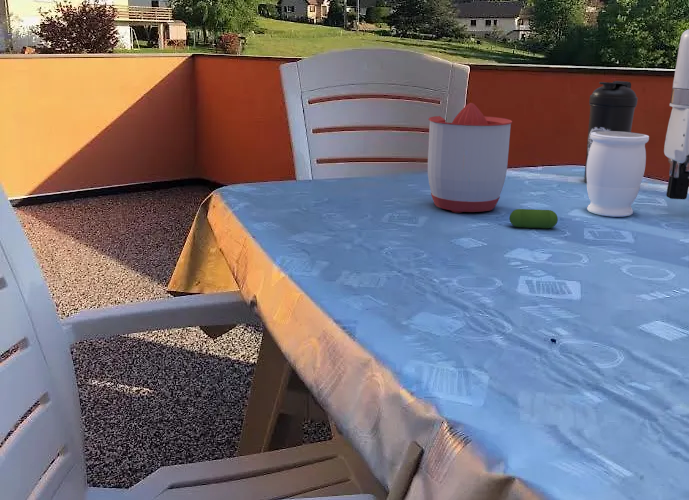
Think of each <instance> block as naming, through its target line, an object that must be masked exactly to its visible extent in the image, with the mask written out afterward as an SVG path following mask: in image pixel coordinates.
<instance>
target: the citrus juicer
mask: <svg viewBox="0 0 689 500" xmlns="http://www.w3.org/2000/svg"><path fill="white" fill-rule="evenodd" d="M428 121H429V128H428V129H429V131H428V132H429V133H428V134H429V135H428V149H427V150H428V151H427V178H428V185H429V190H430V196H431V198H432V201H433V204H434V205H435V206H436V207H437V208H440V209H443V210H448V211H451V212H452V213H455V214H456V213H458V214H461V213H463V212H464V213H465V212H466V213H475V212H476V213H480V212H490V211H492V210H494V209H495V207H496V206H497V204H498V202H499V200H500V198H501V194H502V191H503V188H504V185H505V182H506V177H507V171H508V164H509V163H508V161H509V150H510V139H511V138H510V137H511V126H512V124H513V120H511V119H508V118H504V117H496V116H485V115H484V113H483V112H482V111H481V110H480V108H479V107H477V105H476V104H475V103H474V102H469V103H467V104H466V106H464V107H463V108H462V109H461V110H460V111H459V112H458V114H456V116H454V119H453V120H452V122H446V119H445V118H443V117H442V116H441V115H437V116H429V118H428Z"/></svg>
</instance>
